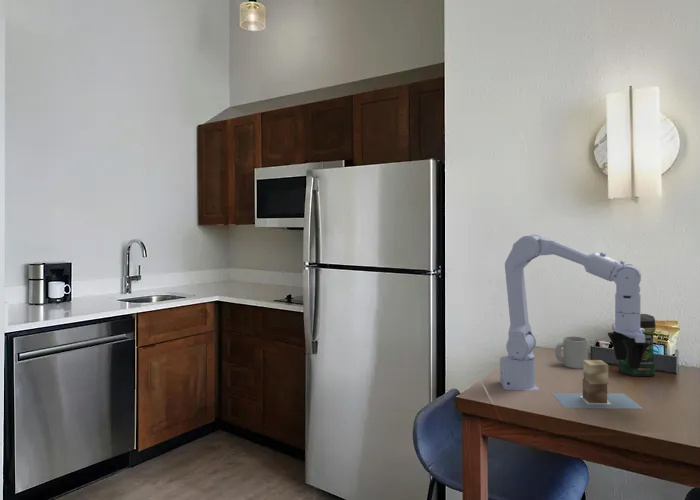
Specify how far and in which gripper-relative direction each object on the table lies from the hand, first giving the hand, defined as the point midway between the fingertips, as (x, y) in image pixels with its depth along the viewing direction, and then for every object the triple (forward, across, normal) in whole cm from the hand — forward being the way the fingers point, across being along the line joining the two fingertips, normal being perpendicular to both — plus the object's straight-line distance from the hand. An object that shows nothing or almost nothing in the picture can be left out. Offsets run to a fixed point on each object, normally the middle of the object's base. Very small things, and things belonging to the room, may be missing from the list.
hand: (627, 363), depth 130 cm
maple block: (+5, 0, +8) cm, 9 cm away
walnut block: (+10, 0, +8) cm, 13 cm away
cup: (+11, +34, +3) cm, 36 cm away
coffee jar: (+11, +26, -14) cm, 31 cm away
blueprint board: (+10, 0, +8) cm, 13 cm away
